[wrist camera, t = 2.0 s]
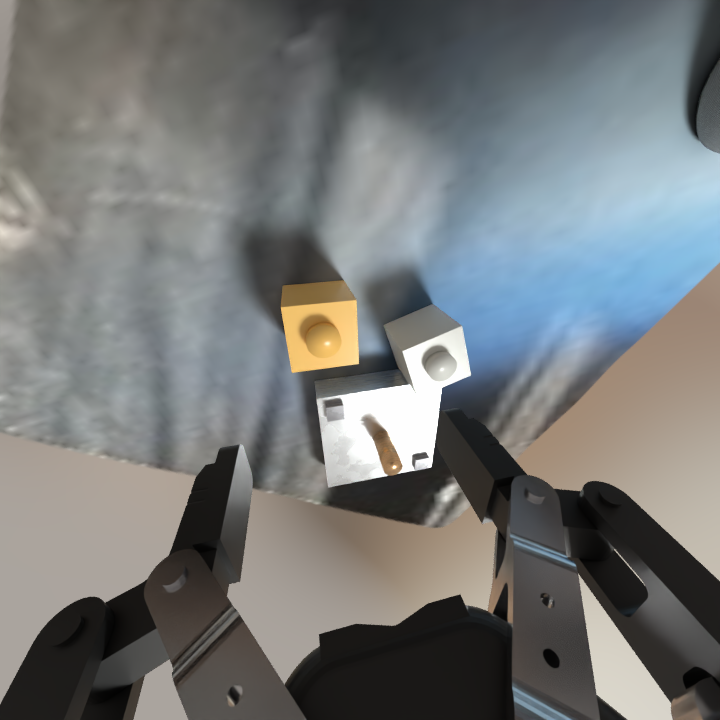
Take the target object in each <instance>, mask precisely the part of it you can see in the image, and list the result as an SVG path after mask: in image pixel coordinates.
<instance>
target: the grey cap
mask: <svg viewBox="0 0 720 720" xmlns="http://www.w3.org/2000/svg"><path fill="white" fill-rule="evenodd" d="M384 328H385V331H386V334H387V337H388V340H389V343H390V346H391V348H392V351H393V354H394V357H395V360H396V363H397V366H398V368H399V369H400V371H401V372H402V374H403V376H404V377H405V379H406V380H407V382H408V384H409V385H410V387H411V388H412V390H413V391H414V393H415V395H416V396H417V398H418V397H421V396H423V395H426V394H428V393H430V392H433V391H435V390H437V389H440V388H442V387H444V386H447V385H449V384H451V383H454V382H456V381H458V380H461V379H463V378H465V377H468V376H470V375H471V372H470V367H469V362H468V356H467V351H466V345H465V340H464V334H463V329H462V326H461V325H460V324H459V323H457V322H456V321H455V320H453V319H452V318H451V317H449V316H448V315H447V314H445V313H444V312H443V311H441V310H440V309H439V308H438V307H436V306H435V305H434V304H431V305H429V306H427V307H424V308H422V309H420V310H417V311H415V312H413V313H410V314H408V315H406V316H403V317H401V318H398V319H396V320H394V321H391V322H389V323H387V324H384Z"/></svg>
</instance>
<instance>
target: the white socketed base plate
mask: <svg viewBox="0 0 720 720" xmlns="http://www.w3.org/2000/svg"><path fill="white" fill-rule="evenodd" d="M314 382H315V390H316V398H317V406H318V413H319V421H320V428H321V436H322V444H323V451H324V459H325V466H326V474H327V481H328V487H332V486H337V485H343V484H348V483H353V482H358V481H363V480H368V479H373V478H378V477H383V476H388V475H395V474H398V473H403V472H408V471H413V470H420V469H425V468H428V467H432V459H433V451H434V443H435V436H436V428H437V420H438V412H439V404H440V396H441V388H440V389H437V390H435V391H433V392H430V393H428V394H426V395H423V396H421V397H418V398H417V396H416V395H415V393H414V391H413V390H412V388H411V387H410V385H409V384H408V382H407V380H406V379H405V377H404V376H403V374H402V372H401V371H400V369H396V370H389V371H382V372H374V373H367V374H360V375H353V376H346V377H338V378H331V379H324V380H317V381H314Z"/></svg>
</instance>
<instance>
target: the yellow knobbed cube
mask: <svg viewBox="0 0 720 720" xmlns="http://www.w3.org/2000/svg"><path fill="white" fill-rule="evenodd" d="M281 312H282V318H283V323H284V329H285V335H286V341H287V346H288V352H289V358H290V364H291V369H292V373H294V372H302V371H309V370H317V369H324V368H332V367H339V366H347V365H354V364H359V352H358V328H357V303H356V299H355V297H354V295H353V294H352V292H351V291H350V289H349V288H348V286H347V284H346V283H345V281H344V280H340V281H329V282H317V283H305V284H294V285H283V288H282V299H281Z"/></svg>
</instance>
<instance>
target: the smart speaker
mask: <svg viewBox="0 0 720 720" xmlns="http://www.w3.org/2000/svg"><path fill="white" fill-rule="evenodd" d="M696 130H697V134H698V137H699V140H700V141H701V143H702V144H703V145H704V146H705V147H707V148H708V149H710V150H712V151H714V152H717V153H720V59H719V60H718V62H717V63H716V65H715V66H714V68H713V70H712V71H711V73H710V75H709V77H708V79H707V81H706V83H705V85H704V88H703V90H702V93H701V95H700V99H699V102H698V106H697V112H696Z"/></svg>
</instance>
